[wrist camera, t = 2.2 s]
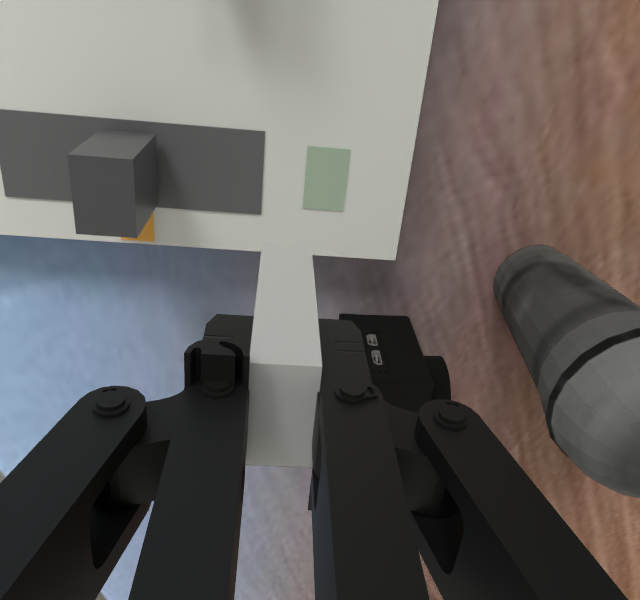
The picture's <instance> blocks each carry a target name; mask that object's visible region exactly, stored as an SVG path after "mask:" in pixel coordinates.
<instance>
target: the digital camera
mask: <svg viewBox="0 0 640 600" xmlns="http://www.w3.org/2000/svg"><path fill="white" fill-rule="evenodd" d="M339 320H351V321H352V322H353V323H354V324H355V325H356V326H357V327H358V328H359V329H360V330H361V334H362V338H363V344H364V348H365V353H366V357H367V362H368V366H369V371H370V375H371V380H372V383H373V384H374V385H375V386H376V387H378V388H379V390H380V392H381V394H382V395H383V400H384V401H386V402H387V403H389V404H391V405H393V406H395V407H398V408H401V409H405V410H408V411H412V412H416V413H419V410H420V407H421V406H422V405H423V404H425V403H426V402H428V401H432V400H435V399H444V400H451V389H450V379H449V373H448V369H447V366H446V363H445V361H444V359H443V358H442V357H441V356H423V354H422V351H421V349H420V346H419V343H418V341H417V338H416V335H415V333H414V330H413V327H412V325H411V322H410V319H409V318H408V317H407V316H384V315H357V314H340V315H339Z"/></svg>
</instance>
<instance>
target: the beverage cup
mask: <svg viewBox="0 0 640 600" xmlns="http://www.w3.org/2000/svg"><path fill="white" fill-rule="evenodd" d="M494 292H495V296H496V298H497V300H498V301H499V305H500V309H501V312H502V314H503V316H504V319H505V321H506V323H507V325H508V327H509V329H510V331H511V334H512V336H513V338H514V340H515V342H516V344H517V346H518V348H519V351H520V353H521V355H522V357H523V359H524V361H525V363H526V365H527V368H528V370H529V372H530V374H531V376H532V378H533V380H534V383H535V385H536V387H537V389H538V391H539V395H540V399H541V403H542V406H543V410H544V413H545V417H546V422H547V426H548V430H549V434H550V437H551V439H552V440H553V441H554V442H555V443H556V445H557V446H558V447H559V448H560V449H561V451H562V452H563V453H564V454H565V455H566V456H568V457H569V458H570V459H571V460H572V461H573V462H574V463H575V465H576V466H577V467H578V468H579V469H580V470H581V471H582V472H583V473H584V474H586V475H587V476H589V477H590V478H592V479H593V480H595V481H596V482H598V483H600V484H602V485H604V486H606V487H608V488H610V489H611V490H614V491H616V492H618V493H620V494H623V495H627V496H631V497H636V498H640V307H639V306H638V305H636V304H635V303H633V302H632V301H631V300H629V299H628V298H626V297H625V296H624V295H622V294H621V293H619V292H618V291H616V290H615V289H614V288H612V287H611V286H609V285H608V284H606V283H605V282H604V281H602V280H601V279H599V278H598V277H597V276H595V275H594V274H592V273H591V272H589V271H588V270H587V269H585V268H584V267H582V266H581V265H579V264H578V263H577V262H575V261H574V260H572V259H571V258H569V257H568V256H566V255H563V254H562V253H560V252H559V251H557V250H556V249H554V248H552V247H548V246H544V245H535V246H528V247H525V248H523V249H520V250H517V251H516V252H514V253H513V254H512V255H510V256H509V257H507V258H506V260H505V261H504V262H503V263H502V264H501V265H500V267H499V269H498V271H497V273H496V275H495V278H494Z"/></svg>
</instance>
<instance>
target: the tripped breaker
mask: <svg viewBox="0 0 640 600" xmlns="http://www.w3.org/2000/svg"><path fill="white" fill-rule="evenodd" d="M67 157H68V166H69V175H70V184H71V193H72V202H73V211H74V220H75V229H76V234H82V235H97V236H112V237H127V238H138V236H139V234H140V233H141V231H142V230H143V228H144V226H145V225H146V223H147V221H148V220H149V218H150V216H151V215H152V213H153V211H154V210H155V208H156V207H157V205H158V203H159V199H158V173H157V147H156V134H148V133H136V132H124V131H112V130H99V131H98V132H97V133H95V134H94V135H93V136H91V137H90V138H89V139H87V140H86V141H85V142H83V143H82V144H81V145H79V146H78V147H76V148H75V149H74V150H72V151H71V152H70V153H68V154H67Z"/></svg>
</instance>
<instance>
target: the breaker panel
mask: <svg viewBox="0 0 640 600" xmlns="http://www.w3.org/2000/svg"><path fill="white" fill-rule="evenodd" d="M438 2H439V0H0V235H15V236H30V237H45V238H60V239H76V240H91V241H106V242H121V243H136V244H152V245H167V246H182V247H197V248H212V249H228V250H243V251H258V252H261V248H262V242H267V243H282V244H296V245H311V246H312V255H319V256H334V257H349V258H364V259H380V260H395V259H396V253H397V247H398V241H399V235H400V229H401V223H402V217H403V211H404V205H405V199H406V193H407V187H408V181H409V176H410V170H411V164H412V158H413V152H414V146H415V140H416V134H417V128H418V122H419V116H420V110H421V104H422V98H423V92H424V86H425V80H426V74H427V68H428V62H429V56H430V50H431V44H432V38H433V32H434V26H435V20H436V14H437V8H438ZM99 130H112V131H124V132H136V133H148V134H156V147H157V173H158V199H159V203H158V205H157V207H156V208H155V210H154V211H153V213H152V215H151V216H150V218H149V220H148V221H147V223H146V225H145V226H144V228H143V230H142V231H141V233H140V234H139V236H138V238H127V237H112V236H97V235H82V234H76V229H75V220H74V211H73V202H72V193H71V184H70V175H69V166H68V157H67V154H68V153H70V152H71V151H72V150H74V149H75V148H76V147H78V146H79V145H81V144H82V143H83V142H85V141H86V140H87V139H89V138H90V137H91V136H93V135H94V134H95V133H97V132H98V131H99Z"/></svg>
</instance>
